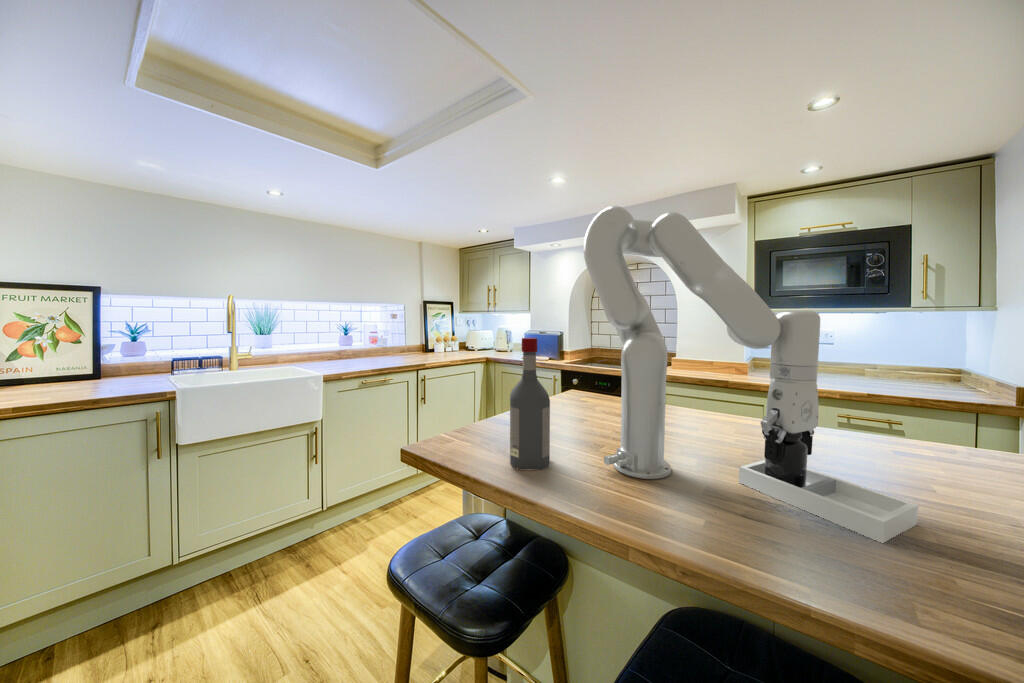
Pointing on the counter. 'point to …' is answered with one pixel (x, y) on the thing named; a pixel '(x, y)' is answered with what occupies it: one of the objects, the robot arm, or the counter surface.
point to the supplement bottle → (790, 461)
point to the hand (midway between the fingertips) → (788, 456)
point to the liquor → (529, 415)
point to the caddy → (838, 502)
